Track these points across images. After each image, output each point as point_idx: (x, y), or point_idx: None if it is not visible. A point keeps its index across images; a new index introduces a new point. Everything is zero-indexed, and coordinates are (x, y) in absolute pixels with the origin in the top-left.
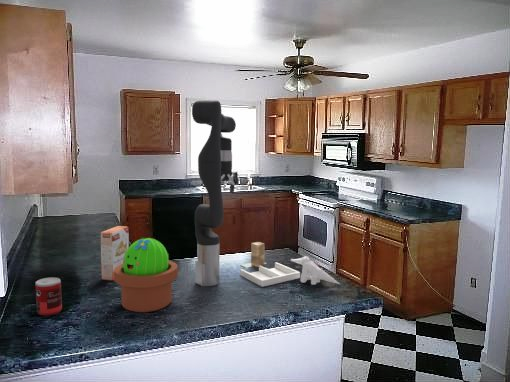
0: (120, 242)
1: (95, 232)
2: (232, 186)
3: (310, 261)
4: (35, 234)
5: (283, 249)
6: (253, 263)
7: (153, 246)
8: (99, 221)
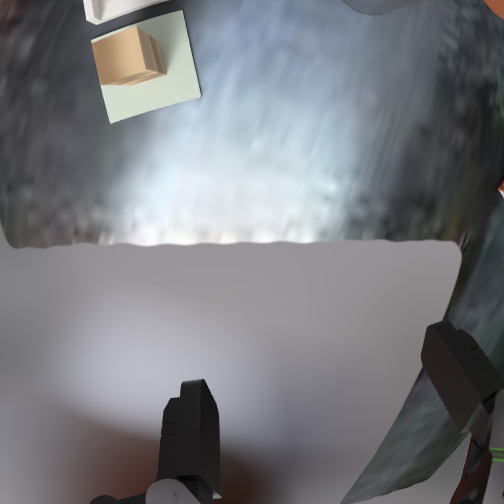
0: None
1: (414, 440)
2: (193, 464)
3: None
4: None
5: (15, 244)
6: (160, 59)
7: None
8: (375, 481)
